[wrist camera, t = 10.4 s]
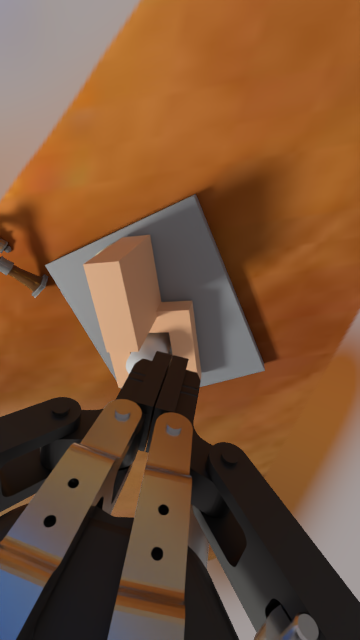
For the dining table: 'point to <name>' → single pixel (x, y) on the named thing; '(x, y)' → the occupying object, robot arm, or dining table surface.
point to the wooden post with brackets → (21, 272)
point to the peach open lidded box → (137, 304)
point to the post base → (174, 292)
